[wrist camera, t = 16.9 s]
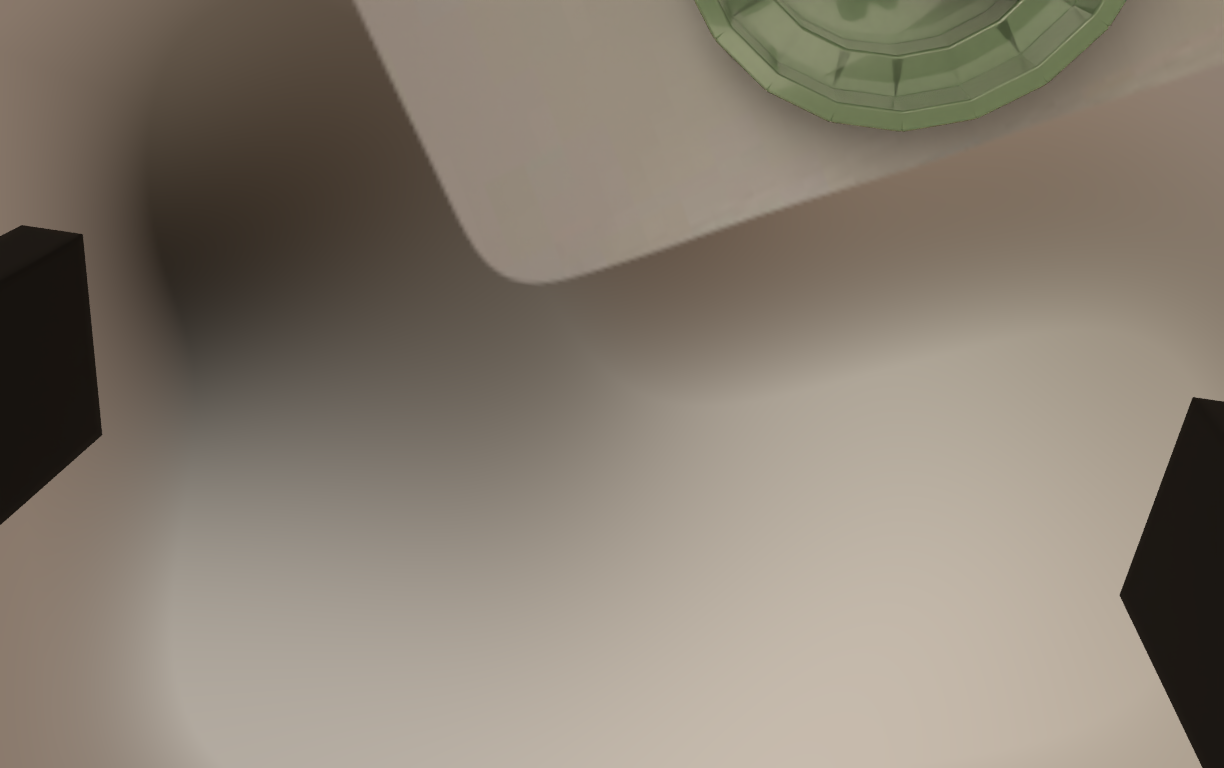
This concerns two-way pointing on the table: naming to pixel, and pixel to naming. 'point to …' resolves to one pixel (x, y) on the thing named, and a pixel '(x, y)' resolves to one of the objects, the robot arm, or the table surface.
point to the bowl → (904, 53)
